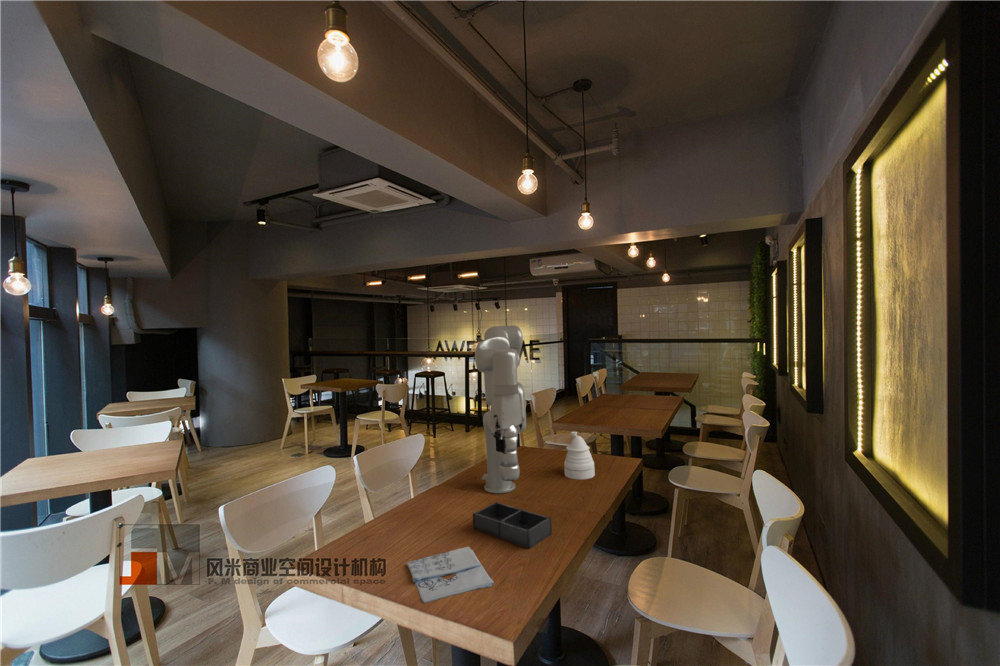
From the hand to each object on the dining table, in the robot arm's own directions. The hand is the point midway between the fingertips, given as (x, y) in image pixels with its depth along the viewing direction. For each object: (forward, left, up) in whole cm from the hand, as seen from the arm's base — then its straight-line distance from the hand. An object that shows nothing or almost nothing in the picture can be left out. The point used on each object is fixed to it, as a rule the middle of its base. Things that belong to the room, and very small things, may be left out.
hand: (508, 448), depth 135 cm
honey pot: (-13, +62, -28) cm, 69 cm away
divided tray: (-3, +3, -27) cm, 28 cm away
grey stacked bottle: (0, 0, -10) cm, 10 cm away
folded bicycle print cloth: (-1, -26, -28) cm, 38 cm away
